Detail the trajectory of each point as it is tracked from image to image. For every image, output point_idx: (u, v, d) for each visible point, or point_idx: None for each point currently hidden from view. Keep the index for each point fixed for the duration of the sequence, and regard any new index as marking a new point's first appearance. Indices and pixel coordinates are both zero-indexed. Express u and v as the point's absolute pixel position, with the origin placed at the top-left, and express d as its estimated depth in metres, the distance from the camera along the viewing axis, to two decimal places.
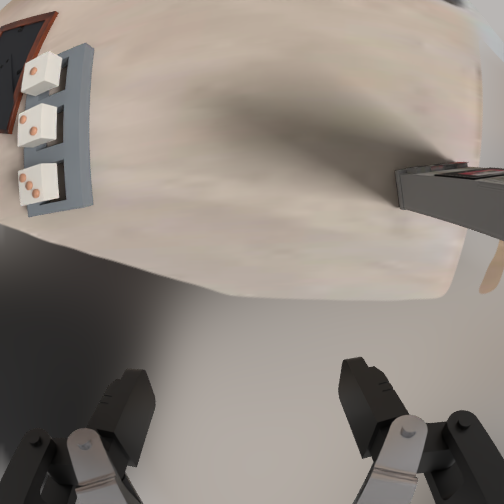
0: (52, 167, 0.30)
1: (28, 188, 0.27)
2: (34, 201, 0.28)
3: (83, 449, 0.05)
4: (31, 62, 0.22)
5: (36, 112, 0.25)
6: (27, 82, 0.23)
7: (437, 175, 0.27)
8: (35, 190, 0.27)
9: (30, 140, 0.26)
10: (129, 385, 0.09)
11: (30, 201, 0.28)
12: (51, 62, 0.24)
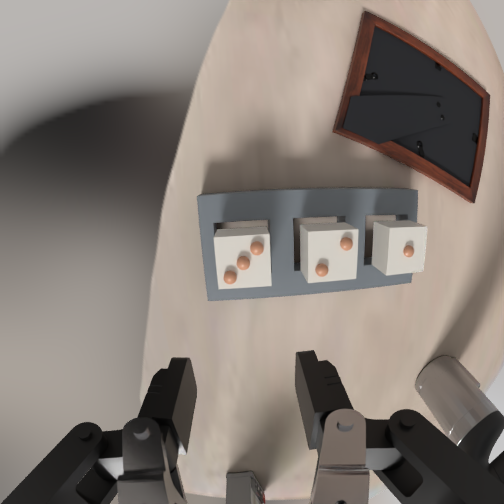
0: None
1: (239, 264, 0.25)
2: (218, 270, 0.26)
3: (143, 438, 0.06)
4: (423, 240, 0.26)
5: (346, 270, 0.26)
6: (398, 240, 0.26)
7: None
8: (234, 279, 0.26)
9: (309, 262, 0.26)
10: (178, 373, 0.10)
11: (219, 262, 0.26)
12: None
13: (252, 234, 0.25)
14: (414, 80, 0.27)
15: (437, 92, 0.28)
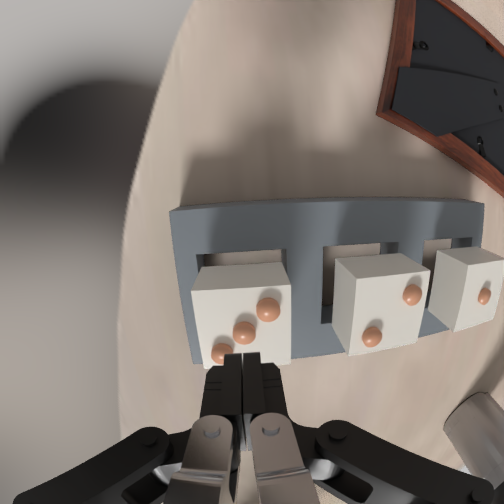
0: None
1: (236, 336, 0.14)
2: (203, 343, 0.15)
3: (217, 437, 0.06)
4: (500, 278, 0.14)
5: (406, 332, 0.15)
6: (475, 282, 0.14)
7: None
8: None
9: (354, 326, 0.15)
10: (235, 368, 0.10)
11: (202, 330, 0.14)
12: None
13: (260, 285, 0.14)
14: (468, 58, 0.16)
15: (492, 77, 0.17)
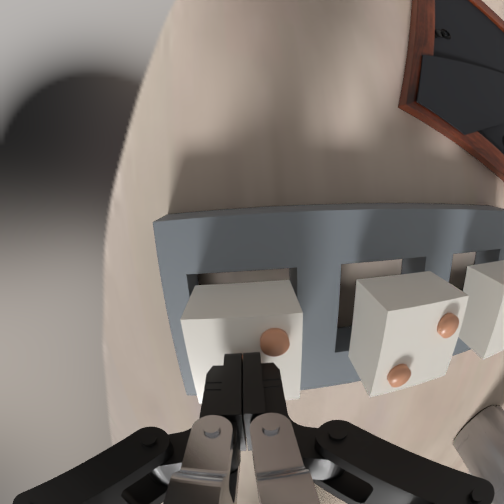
0: None
1: None
2: (197, 377, 0.12)
3: (217, 437, 0.06)
4: None
5: (436, 366, 0.11)
6: None
7: None
8: None
9: (380, 365, 0.11)
10: (235, 368, 0.10)
11: (195, 363, 0.12)
12: None
13: (265, 313, 0.11)
14: (490, 51, 0.13)
15: None
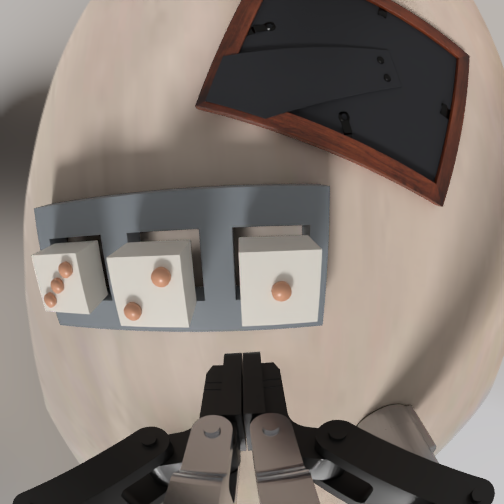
0: None
1: (52, 286, 0.18)
2: (41, 291, 0.18)
3: (217, 437, 0.06)
4: (313, 272, 0.17)
5: (171, 314, 0.17)
6: (258, 272, 0.17)
7: None
8: (52, 302, 0.18)
9: (116, 299, 0.17)
10: (235, 368, 0.10)
11: (39, 282, 0.18)
12: None
13: (62, 253, 0.18)
14: (339, 28, 0.19)
15: (379, 44, 0.19)
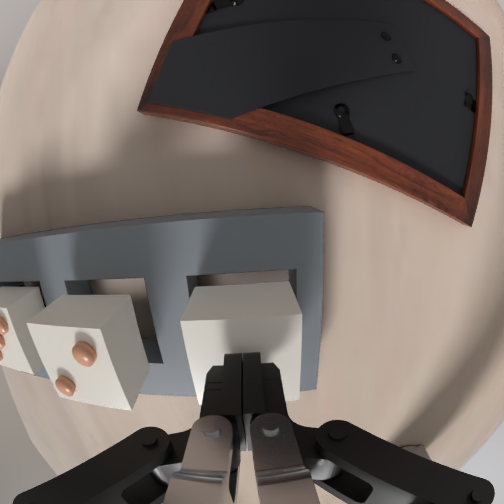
0: None
1: None
2: None
3: (217, 437, 0.06)
4: (290, 345, 0.12)
5: (107, 394, 0.11)
6: (210, 346, 0.11)
7: None
8: None
9: (47, 369, 0.11)
10: (235, 368, 0.10)
11: None
12: None
13: None
14: None
15: (383, 17, 0.13)
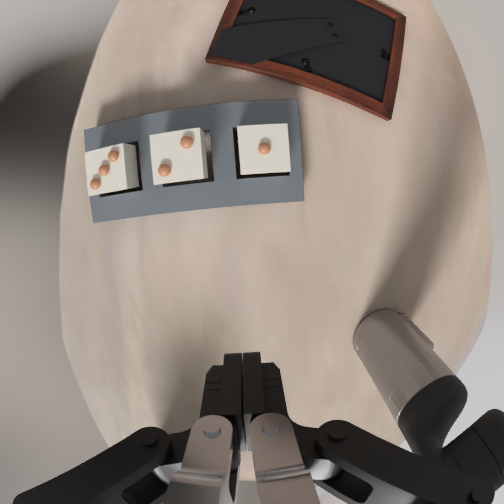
0: None
1: (100, 171, 0.26)
2: (88, 179, 0.26)
3: (217, 437, 0.06)
4: (283, 137, 0.26)
5: (191, 169, 0.25)
6: (249, 137, 0.26)
7: None
8: (97, 184, 0.26)
9: (153, 163, 0.25)
10: (236, 368, 0.10)
11: (88, 172, 0.26)
12: None
13: (111, 146, 0.26)
14: (300, 7, 0.26)
15: (329, 15, 0.27)
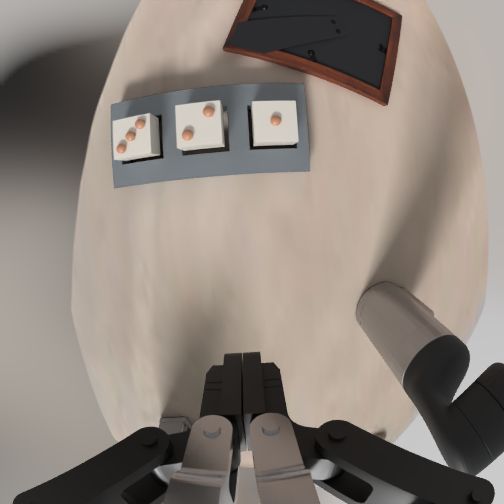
0: (153, 155, 0.32)
1: (127, 136, 0.29)
2: (114, 145, 0.29)
3: (217, 437, 0.06)
4: (292, 112, 0.29)
5: (211, 135, 0.28)
6: (262, 111, 0.29)
7: None
8: (123, 149, 0.29)
9: (177, 129, 0.28)
10: (235, 368, 0.10)
11: (115, 138, 0.29)
12: (282, 142, 0.31)
13: None
14: (306, 6, 0.29)
15: (333, 13, 0.30)
